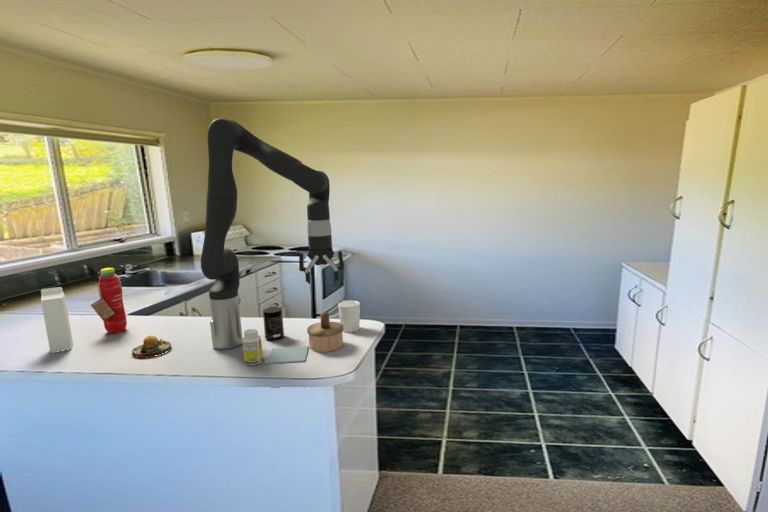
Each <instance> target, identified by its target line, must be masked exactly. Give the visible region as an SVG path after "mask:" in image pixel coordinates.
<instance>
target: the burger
mask: <svg viewBox="0 0 768 512" xmlns="http://www.w3.org/2000/svg"><path fill="white" fill-rule="evenodd" d="M170 347H171V348H172V343H171V342H170V341H166V340H164V339H163V338H160V339H158V337H156V336H155V335H148V336H146V337H145V338H144V339H143V344H140V345H138V346H136V347H134V348H133V349H132V350H131V355H133V356H132V357H133V358H134V357H135V358H134V359H137V358H142V359H143V358H144V359H147V358H146V357H148V358H151V357H152V358H154V357H153V356H155V355H159V354H162V353H165V352H166V351H168V350H169V349H170ZM170 350H171V349H170ZM165 354H166V353H165ZM136 357H137V358H136Z"/></svg>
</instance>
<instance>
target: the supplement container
mask: <svg viewBox="0 0 768 512" xmlns="http://www.w3.org/2000/svg"><path fill="white" fill-rule="evenodd" d="M262 316H263V317H262V320H263V328H264V337H265V340H267V341H270V342H271V341H272V342H273V341H279V340H282V339H283V338H284V336H285V330H284V317H283V308H282V307H279V306H272V307H271V306H270V307H268V308H267V307H266V308H264V309H262Z"/></svg>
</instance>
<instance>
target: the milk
mask: <svg viewBox="0 0 768 512" xmlns="http://www.w3.org/2000/svg"><path fill="white" fill-rule="evenodd" d="M63 290H64V289H63V287H61V286H58V287H49V288H48V287H47V288H42V289H41V290H40V295H41V297H40V302H41V308H42V313H43V314H42V315H43V319H44V325H45V326H44V327H45V331H46V336H47V342H48V347H49V353H50V354H53V353H52V352H56V353H58V352H57V351H61V352H63V351H62V350H67V351H69V350H68V349H71V348H72V349H73V346H74V340H73V335H72V330H71V324H70V318H69V312H68V307H67V300H66V295H65V292H64V291H63ZM72 349H71V350H72Z"/></svg>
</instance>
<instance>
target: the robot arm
mask: <svg viewBox="0 0 768 512" xmlns="http://www.w3.org/2000/svg"><path fill="white" fill-rule="evenodd" d="M207 129H208V130H207V149H208V151H207V152H208V173H207V175H208V176H207V191H206V205H205V207H206V208H205V209H206V212H205V224H204V225H205V227H204V230H205V231H204V239H203V244H202V250H201V255H200V256H201V257H200V269H201V272H202V274H203V276H204V277H205V278H206V279H208V280H212V281H213V280H214V283H213V285H212V286H211V287H210V288H209V290H208V296H209V306H210V315H211V320H210V323H209V326H210V331H211V332H210V333H211V342H212V348H213V349H219V350H230V349H233V348H237V347H240V346H241V345H243V343H242V339H243V338H244V337H243V329H242V319H241V312H240V311H241V310H240V300H239V288H240V284H241V283H240V266H239V265H240V264H239V260H238V257H237V255H236V253H235V252H234V251H233V250H232V249H229V248H225V243H226V240H227V239H226V238H227V235H228V233H229V230H230V228H231V226H232V225H233V222H234V219H235V216H236V215H237V210H238V209H237V208H238V187H237V184H236V179H235V176H234V172H233V158H234V157H233V156H234V155H233V154H234V151H237V152H240V153H243V154H244V155H248V156H250V157H252V158H253V159H255V160H257V161H258V162H260V164H262V165H263V166H265V167H266V168H268V170H269V171H272V172H273V173H275V174H277V175H279V176H281V177H283V178H285V179H287V180H289V181H291V182H292V183H293V184H295V185H297V186H298V187H300V188H301V189H302V190H305V191H306V192H308V203H307V205H306V206H307V207H306V212H307V213H306V214H307V215H306V216H307V227H306V228H307V229H306V230H307V241H308V242H307V243H308V252H303V251H300V252H299V254H298V255H299V256H298V257H299V259H298V262H299V264H298V265H299V266H298V269H299V271H300V272H304V273H305V282H306V283H307V284H308V285H311V283H312V282H311V281H312V279H311V271H310V270H311V269H312V268H313V267H314V265H316V266H320V265H322V266H327V265H329V266H330V267H331V269H332V270H333V275H334V276H333V279H334V283H337V282H338V281H339V278H340V277H339V275H340V274H339V271H341V270H344V267H345V266H344V257H343V251H342V250H341V249H339V250H337V251H335V250H333V239H332V236H333V235H332V224H331V219H330V217H331V215H330V205H329V204H330V191H331V189H330V185H331V184H330V178H329V177H328V175H327V174H326V173H325V172H324V171H322V170H317V169H314V168H311V167H309V166H308V165H306V164H304V163H303V162H302V161H301V160H300V159H298V158H296V157H294V156H293V155H290V154H289V153H286V152H284V151H282V150H281V149H278V148H277V147H275V146H273V145H270V144H269V143H267V142H265V141H264V140H262V139H260V138H259V137H257V136H256V135H254V134H253V133H252V132H250V131H249V130H248V129H246V128H245V127H244V126H243V125H241V124H240V123H239V122H237V121H235V120H234V119H233V120H232V119H227V118H216V119H214V120H212V121H211V122H210V124H209V126H208V128H207ZM334 256H335V257H336V258H337V259H338V263H339V265H337V264H336V263H335V261H333V259H332V258H333V257H334ZM307 257H308V259H310V262H309V264H308V265H307V266H306V267H305V260H306V258H307Z"/></svg>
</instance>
